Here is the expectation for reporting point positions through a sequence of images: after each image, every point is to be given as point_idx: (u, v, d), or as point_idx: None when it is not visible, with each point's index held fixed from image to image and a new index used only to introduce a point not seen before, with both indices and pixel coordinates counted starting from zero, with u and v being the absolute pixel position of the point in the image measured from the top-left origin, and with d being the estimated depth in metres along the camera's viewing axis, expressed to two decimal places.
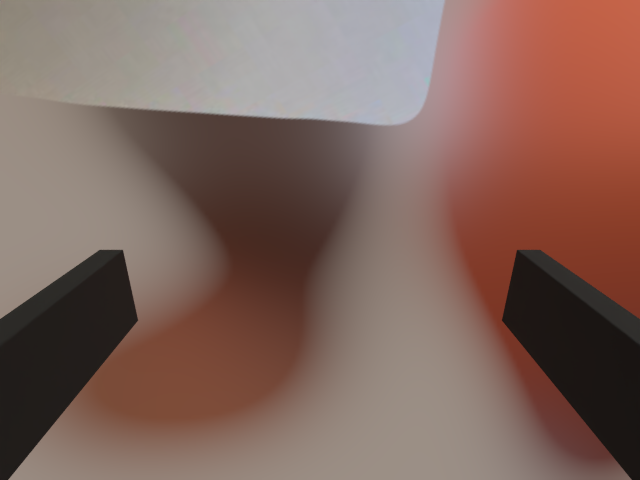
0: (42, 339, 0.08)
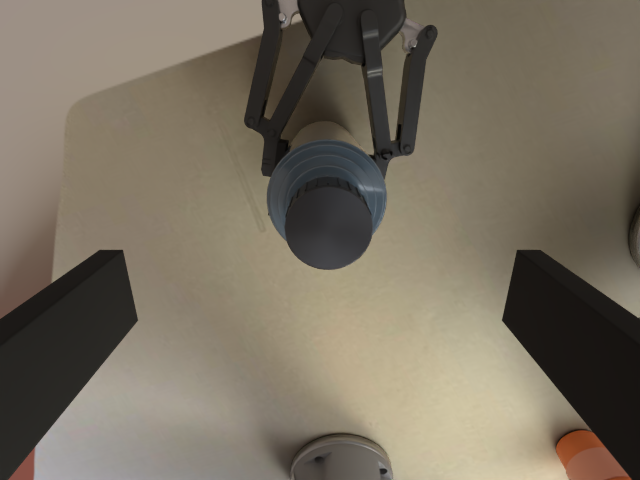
0: (42, 339, 0.08)
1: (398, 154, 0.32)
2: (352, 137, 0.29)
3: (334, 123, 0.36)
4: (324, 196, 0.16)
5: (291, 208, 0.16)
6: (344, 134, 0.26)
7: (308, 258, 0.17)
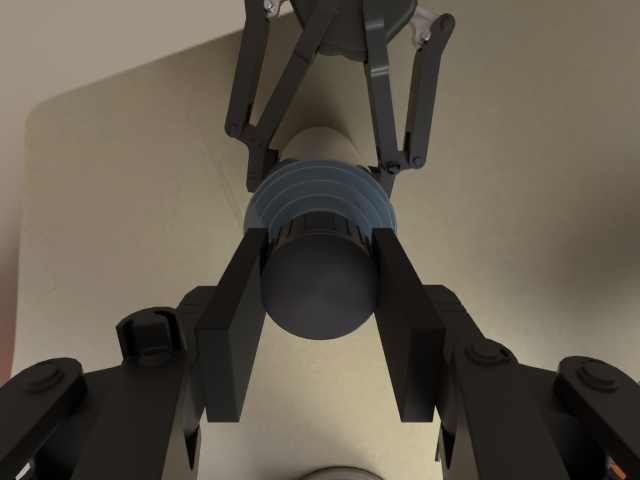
0: (251, 292, 0.10)
1: (406, 167, 0.27)
2: (352, 148, 0.24)
3: (332, 129, 0.31)
4: (313, 245, 0.12)
5: (267, 261, 0.12)
6: (343, 146, 0.21)
7: (292, 326, 0.13)
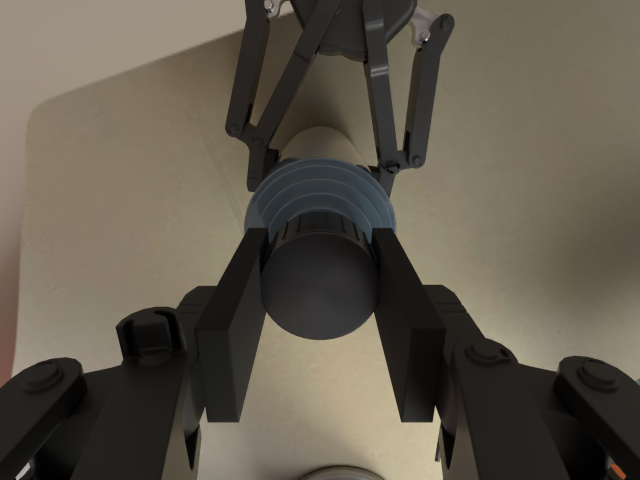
0: (251, 292, 0.10)
1: (406, 166, 0.27)
2: (352, 148, 0.24)
3: (332, 129, 0.31)
4: (286, 317, 0.13)
5: (324, 339, 0.13)
6: (343, 146, 0.21)
7: (371, 288, 0.12)
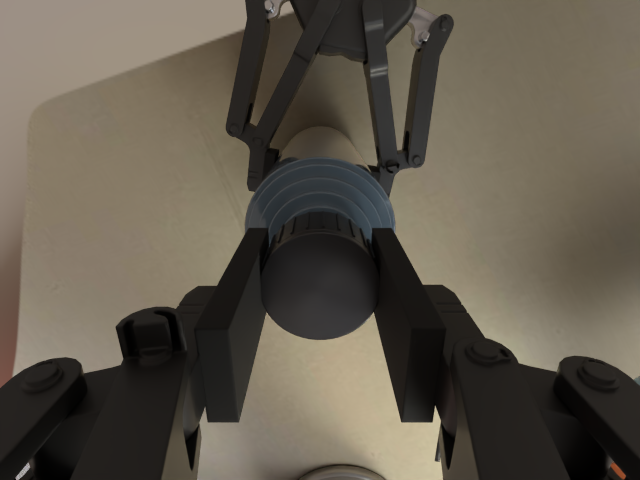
0: (251, 292, 0.10)
1: (406, 166, 0.27)
2: (352, 147, 0.24)
3: (332, 129, 0.31)
4: (366, 297, 0.12)
5: (367, 254, 0.12)
6: (342, 146, 0.22)
7: (287, 252, 0.12)
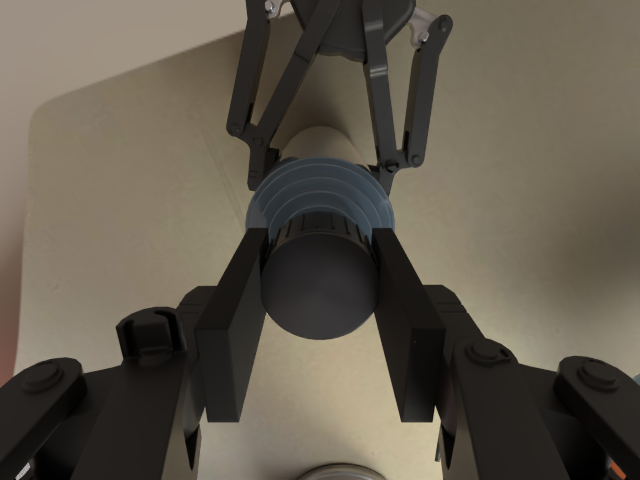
0: (251, 292, 0.10)
1: (405, 165, 0.27)
2: (352, 147, 0.25)
3: (332, 129, 0.32)
4: (299, 248, 0.12)
5: (261, 275, 0.12)
6: (342, 145, 0.22)
7: (305, 331, 0.13)
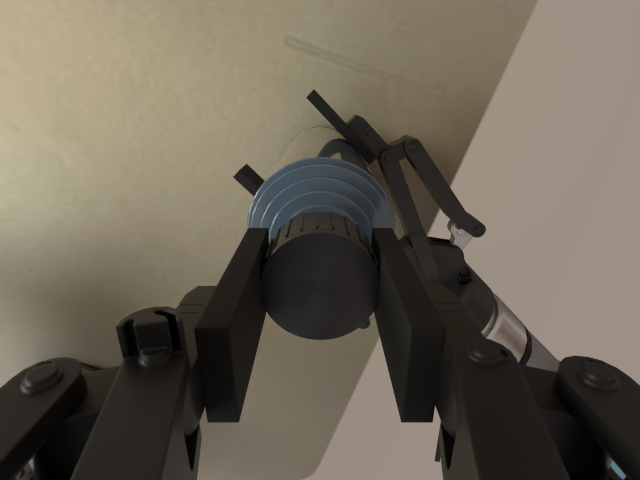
0: (251, 292, 0.10)
1: None
2: None
3: None
4: (299, 248, 0.12)
5: (261, 275, 0.12)
6: None
7: (305, 331, 0.13)
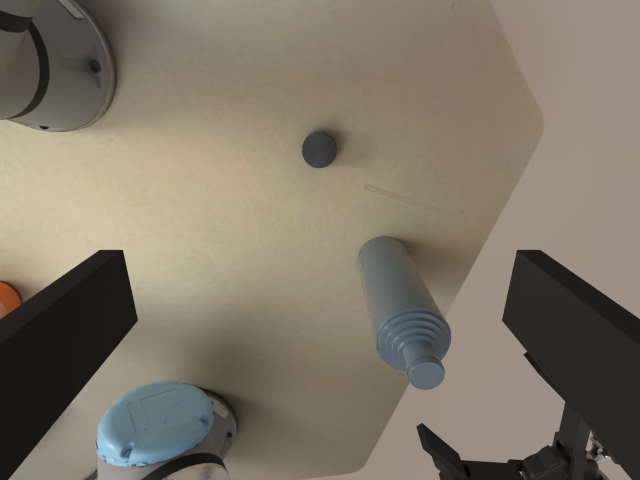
0: (42, 339, 0.08)
1: None
2: None
3: None
4: (313, 138, 0.43)
5: (303, 146, 0.43)
6: None
7: (315, 164, 0.44)
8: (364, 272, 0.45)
